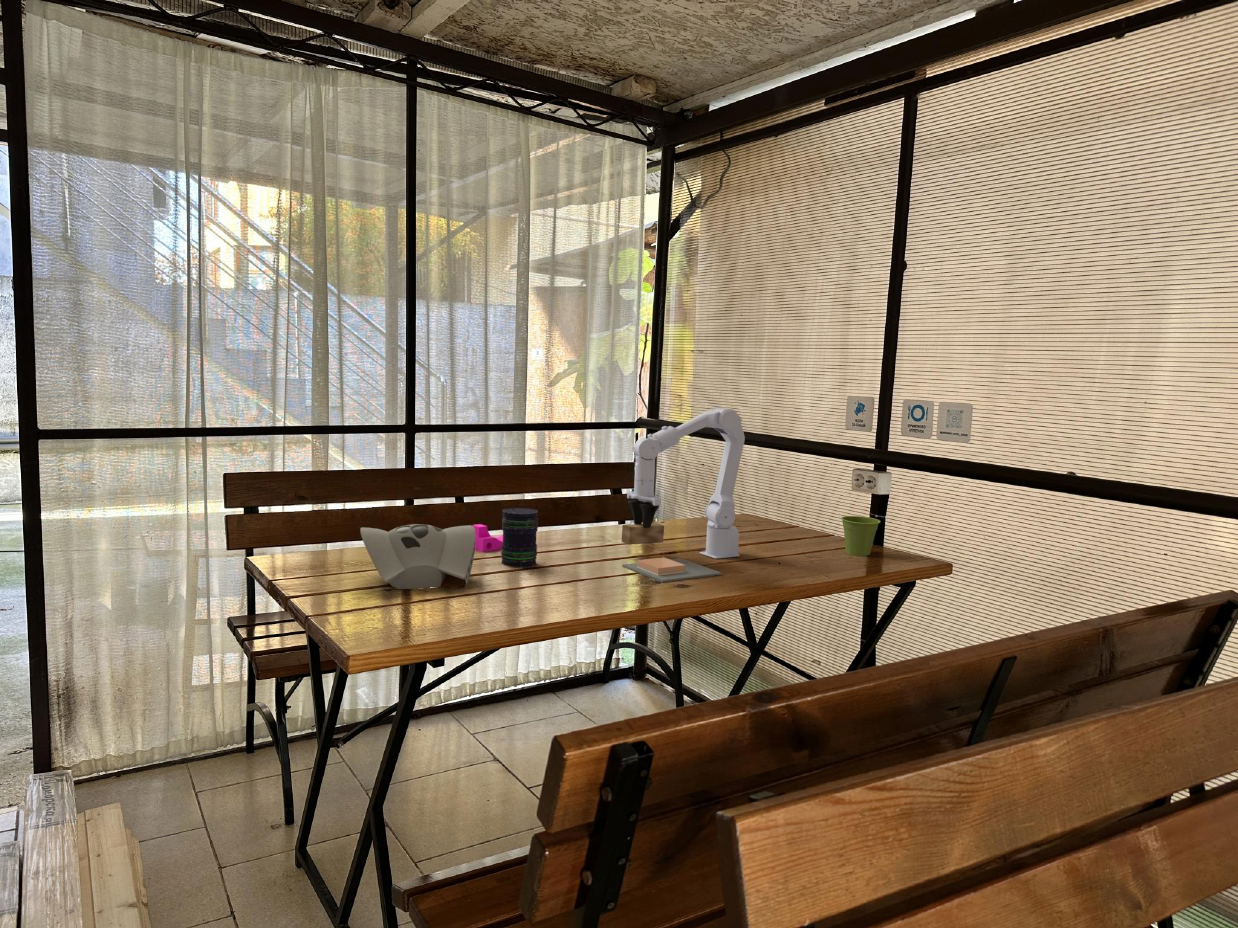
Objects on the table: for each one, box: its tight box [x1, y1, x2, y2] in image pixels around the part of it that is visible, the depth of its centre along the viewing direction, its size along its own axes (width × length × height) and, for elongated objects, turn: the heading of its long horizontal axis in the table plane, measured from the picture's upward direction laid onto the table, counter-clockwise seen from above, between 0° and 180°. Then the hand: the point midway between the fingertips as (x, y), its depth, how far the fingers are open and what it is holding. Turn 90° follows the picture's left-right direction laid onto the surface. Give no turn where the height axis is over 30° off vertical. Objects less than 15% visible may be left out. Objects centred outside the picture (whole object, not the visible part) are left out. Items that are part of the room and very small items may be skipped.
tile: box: [636, 556, 685, 576], centre depth 234 cm, size 2×10×9 cm
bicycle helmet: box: [359, 523, 476, 590], centre depth 213 cm, size 28×25×16 cm
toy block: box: [472, 523, 503, 553], centre depth 255 cm, size 15×6×8 cm, turn 129°
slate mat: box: [622, 557, 723, 583], centre depth 236 cm, size 20×19×1 cm
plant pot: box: [840, 515, 881, 557], centre depth 267 cm, size 12×12×11 cm
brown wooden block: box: [621, 522, 665, 545], centre depth 250 cm, size 12×4×5 cm, turn 123°
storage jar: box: [500, 507, 539, 569], centre depth 236 cm, size 10×10×15 cm
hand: (642, 526), depth 250 cm, fingers closed on brown wooden block, 4 cm apart
